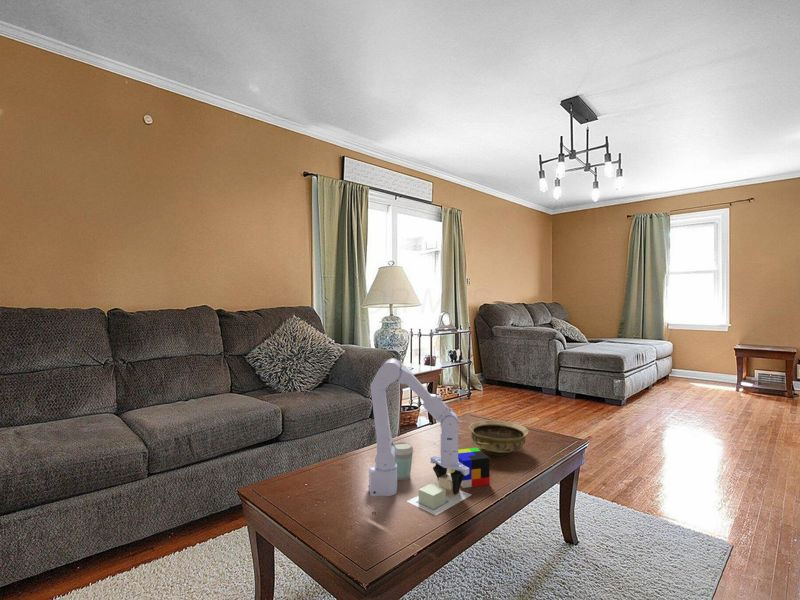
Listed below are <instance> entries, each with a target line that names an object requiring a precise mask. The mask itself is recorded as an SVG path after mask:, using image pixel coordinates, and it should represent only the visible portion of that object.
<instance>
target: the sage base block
mask: <svg viewBox="0 0 800 600" xmlns="http://www.w3.org/2000/svg"><path fill="white" fill-rule="evenodd" d="M418 495H419V503H422V504H424V505H426V506H428V507H430V508H432V509H434V508H436V507H438V506H439V505H441V504H443V503H445V502H446V489H444V488H441V487H439V486H438V485H436V484H434V483H428V484H427V485H424V486H423V487H421V488H418Z"/></svg>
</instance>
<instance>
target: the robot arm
mask: <svg viewBox="0 0 800 600" xmlns="http://www.w3.org/2000/svg"><path fill="white" fill-rule="evenodd" d="M396 381H397V384H401V385H402V384H403V385H405V386H408V388H409V389H411V390H412V392H414V393H415V394H416V396H418V397H419V398H420V400H421V401H423V403H422V405H423V406H422V407H423V408H424V409H425V410H426V411H427V412H428V413H429V415H430V416H432V417H433V418H434V420H435V421H437V422H439V423H440V424H439V425H440V428H441V429H440V430H441V433H440V456H436V455H433V456H431V457H430V464H435V465H434V466H432V470H433V471H434V474H435V476H436V478H437V481H438V483H439V477H441V476H443V475H445V474H447V472H448V469H449V470H451V469H452V470H454V471H455V472H453V473H451V472H450V474H451V478H452V482H453V493H454V494H457V493H459V489H460V490H461V482H462V480H463V478H464V476H466V475H468V474H469V468H468V467H466V466H464V465H463V464H461V463H460V462H459V460H458V450H459V427H460V424H459V419H458V415H457V414H456V412H455V410H453V409H452V408H451V407H448V405H446V403H445V402H444V401H443V397H442V396H441V395H437V394H435V393H430V392H429V391H428V390H427V389H426V387H425V386H424V385H423V384H422V383H421V382H420V380H419V379H418V378H417V377H416V376H415V375H414V374H413V372H412V371H410V369H409V368H408V367H407V366H406V365H404V364H402V362H401V361H400V360H398V359H396V358H389V359H387V360H386V361H384V362H383V363H382V364H381V365H380V367H379V369H378V370H377V372H376V373H375V376H374V378H373V380H372V382H371V383H370V396H371V404H372V411H373V420H374V427H375V434H376V435H375V436H376V455H375V459H374V463H375V465H374V466H371V467H368V487H367V490H368V491H369V495H370V497H391V496H394V495H395V494H397V492H398V480H397V463H396V462H395V456H396V453H397V449H396V447H395V445H394V443H395V442H394V441H393V436H392V432H391V425H390V416H389V410H388V409H389V408H388V402H387V401H388V399H387V393H386V392H387V391H386V390H387V388H388V387H389V386H390V384H392V383H394V382H396Z"/></svg>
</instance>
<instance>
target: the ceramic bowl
mask: <svg viewBox="0 0 800 600" xmlns="http://www.w3.org/2000/svg"><path fill="white" fill-rule="evenodd" d="M468 428H469V430H470V432H471V440H472V441H473V443H474V444H475V445H476V446H478V447H480V448H481V449H483V450H486V451H487V453H488V454H490V455H493V456H506V455H508V453H511V452H516V451H517V450H520V449H521V448H523V446H525V444H526V436H527V435H529V429H528V428H527V427H525V426H524V425H522V424H519V423H514V422H510V421H503V420H492V419H491V420H490V419H489V420H487V419H486V420H479V421H475V422H472V423H470V425H468Z"/></svg>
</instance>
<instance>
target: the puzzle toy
mask: <svg viewBox="0 0 800 600" xmlns="http://www.w3.org/2000/svg"><path fill="white" fill-rule="evenodd" d="M458 460H459V462H460V463H461V464H463V465H464V466H466V467H468V468H469V474H468V475H466V476H464V478H463V480H462V482H461V486H460V488H462V489H465V488H472V487H473V488H474V487H480V486H487V485H490V481H491V480H490V478H491V477H490V471H491V470H490V465H491V463H490V460H491V459H490V456H488V455H487V454H486V453H484V452H483V451H481V450H480V448H478V447H470V448H469V447H468V448H461V449H459V448H458ZM453 472H455V471H454V470H452V469H450V474H451V473H453Z"/></svg>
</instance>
